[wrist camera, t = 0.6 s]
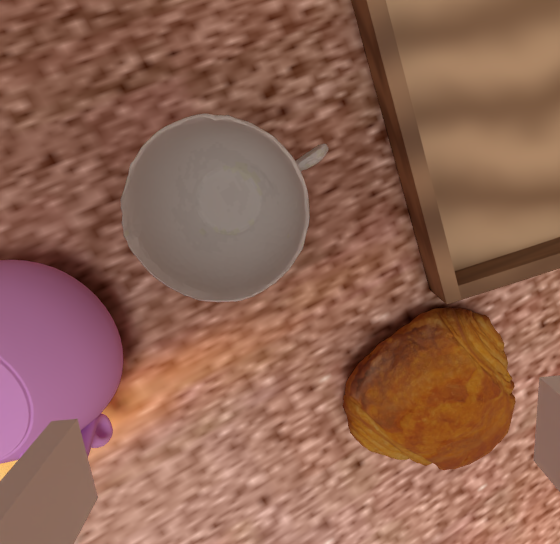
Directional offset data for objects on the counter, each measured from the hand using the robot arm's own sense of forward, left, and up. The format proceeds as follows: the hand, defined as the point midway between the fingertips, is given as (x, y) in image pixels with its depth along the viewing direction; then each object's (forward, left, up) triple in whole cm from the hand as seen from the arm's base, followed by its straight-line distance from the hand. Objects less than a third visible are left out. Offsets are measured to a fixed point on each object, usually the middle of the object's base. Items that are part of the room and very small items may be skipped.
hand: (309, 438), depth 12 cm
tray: (-6, +20, -26) cm, 33 cm away
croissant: (+16, +8, -26) cm, 32 cm away
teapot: (-1, -23, -26) cm, 35 cm away
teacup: (-6, -2, -26) cm, 27 cm away
